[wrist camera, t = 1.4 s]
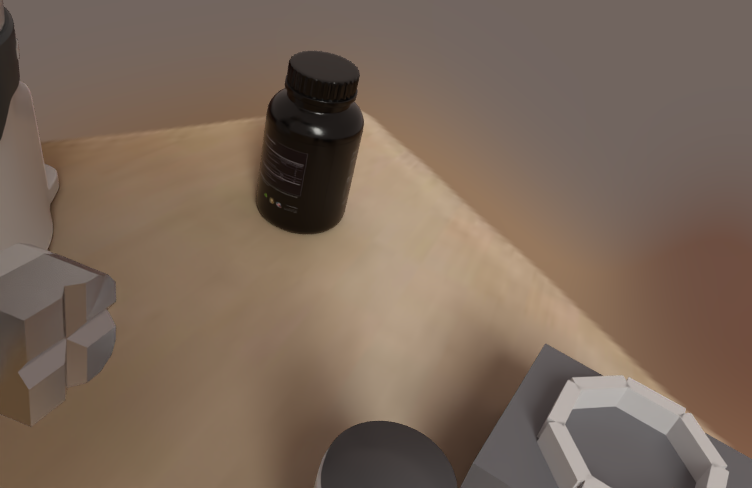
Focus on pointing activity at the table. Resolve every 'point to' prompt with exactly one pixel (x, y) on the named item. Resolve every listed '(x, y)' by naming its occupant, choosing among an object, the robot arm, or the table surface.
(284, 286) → the table surface
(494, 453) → the camera body block
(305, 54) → the supplement bottle
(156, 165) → the table surface
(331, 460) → the lens
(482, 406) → the table surface
